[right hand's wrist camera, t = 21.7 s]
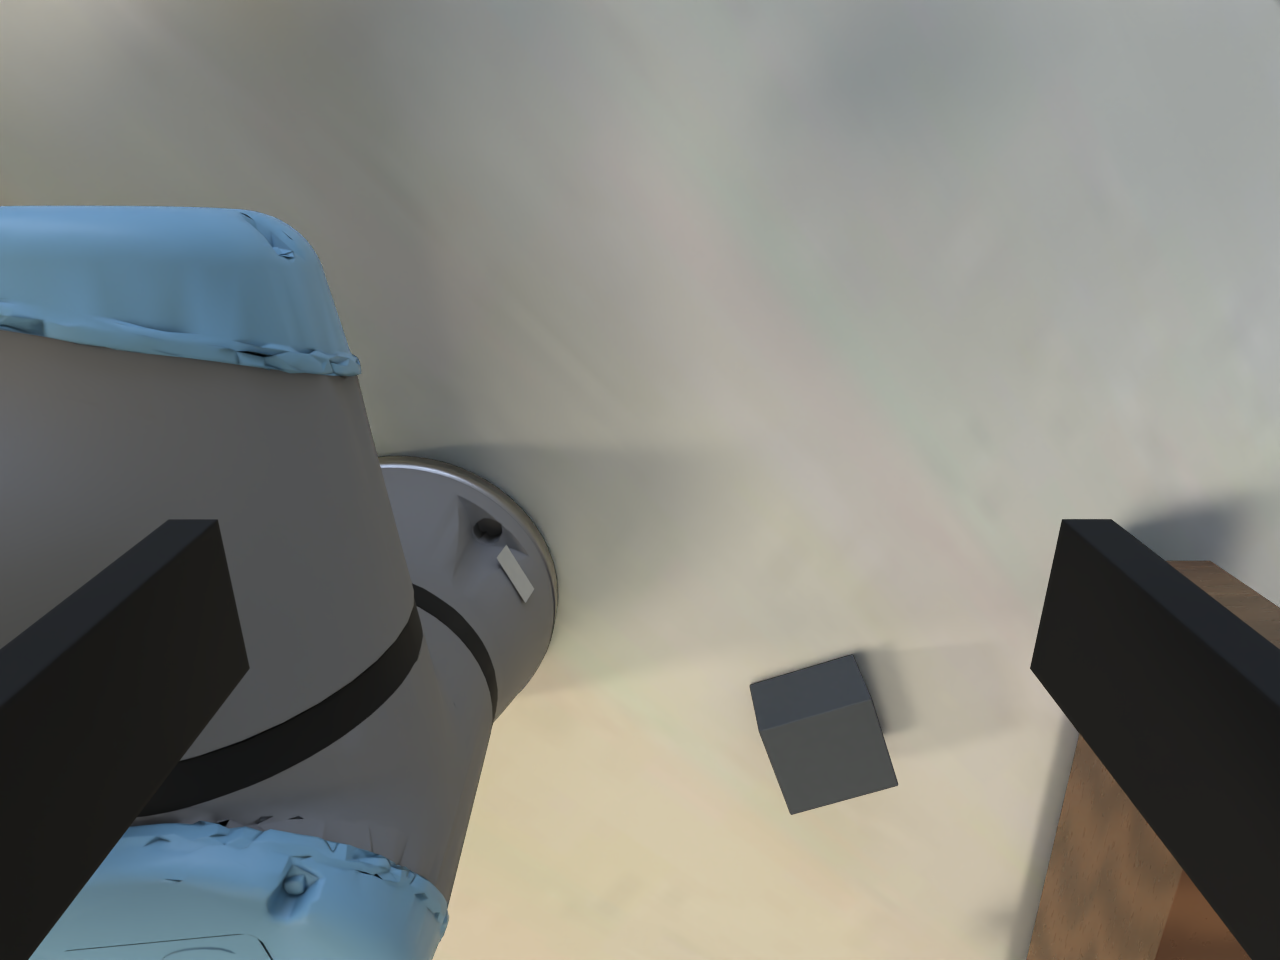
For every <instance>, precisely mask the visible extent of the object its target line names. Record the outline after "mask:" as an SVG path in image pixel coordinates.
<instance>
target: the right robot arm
mask: <svg viewBox="0 0 1280 960" xmlns="http://www.w3.org/2000/svg"><path fill="white" fill-rule="evenodd" d="M359 374H362V373H361V365H360V362H359V359H358V358H357V357H356V356H355V355H353V354H352V353H351V352H350V349H349V346H348V343H347V340H346V337H345V334H344V331H343V328H342V325H341V322H340V319H339V316H338V313H337V310H336V307H335V304H334V301H333V298H332V295H331V292H330V289H329V286H328V283H327V280H326V277H325V274H324V270H323V267H322V264H321V262H320V260H319V258H318V256H317V254H316V253H315V251H314V249H313V248H312V246H311V245H310V244H309V243H308V241H307V240H306V239H305V238H304V237H303V236H302V235H301V234H300V233H299V232H298V231H296V230H295V229H293V228H292V227H291V226H289V225H288V224H286V223H284V222H283V221H281V220H279V219H277V218H275V217H272V216H269V215H266V214H263V213H259V212H256V211H250V210H242V209H226V208H207V207H169V206H0V960H432V959H433V956H434V953H435V951H436V948H437V946H438V943H439V942H440V941H441V938H442V937H443V936H444V933H445V930H446V927H447V924H448V921H449V915H448V911H447V908H448V904H449V900H450V896H451V892H452V888H453V884H454V880H455V876H456V872H457V868H458V864H459V860H460V856H461V852H462V847H463V843H464V839H465V835H466V831H467V827H468V823H469V819H470V815H471V811H472V807H473V803H474V799H475V795H476V791H477V787H478V783H479V779H480V775H481V771H482V767H483V762H484V758H485V754H486V750H487V746H488V742H489V738H490V734H491V729H492V725H493V722H494V721H495V720H496V719H497V718H498V717H499V716H500V714H501V713H502V712H503V711H504V710H505V709H506V707H507V706H508V705H509V704H510V703H511V702H512V700H513V699H514V698H515V697H516V695H517V694H518V693H519V692H520V691H521V690H522V689H523V688H524V687H525V686H526V685H527V683H528V682H529V681H530V680H531V678H532V677H533V675H534V674H535V672H536V670H537V669H538V667H539V665H540V663H541V662H542V660H543V658H544V656H545V654H546V652H547V649H548V646H549V644H550V641H551V637H552V633H553V629H554V623H555V618H556V611H557V603H558V588H557V578H556V573H555V568H554V564H553V561H552V558H551V555H550V552H549V550H548V548H547V546H546V543H545V541H544V539H543V538H542V536H541V534H540V533H539V531H538V529H537V528H536V526H535V525H534V523H533V522H532V521H531V519H530V518H529V517H528V516H527V514H526V513H525V512H524V511H523V510H522V509H521V508H520V507H519V506H518V505H517V504H516V503H515V502H514V501H513V500H512V499H511V498H510V497H509V496H507V495H506V494H505V493H504V492H502V491H501V490H500V489H499V488H497V487H496V486H494V485H493V484H491V483H490V482H488V481H486V480H485V479H483V478H481V477H479V476H477V475H475V474H474V473H471V472H469V471H467V470H464V469H462V468H460V467H457V466H454V465H451V464H448V463H445V462H441V461H436V460H432V459H427V458H420V457H409V456H388V457H378V455H377V452H376V448H375V444H374V441H373V437H372V433H371V429H370V425H369V421H368V417H367V413H366V409H365V405H364V401H363V397H362V393H361V389H360V384H359V380H358V376H357V375H359ZM1030 669H1031V670H1032V672H1033V673H1034V674H1035V676H1036V677H1037V678H1038V679H1039V681H1040V682H1041V683H1042V685H1043V686H1044V687H1045V689H1046V690H1047V691H1048V693H1049V694H1050V695H1051V697H1052V698H1053V699H1054V700H1055V702H1056V703H1057V704H1058V706H1059V707H1060V708H1061V710H1062V711H1063V712H1064V714H1065V715H1066V716H1067V718H1068V719H1069V720H1070V722H1071V723H1072V724H1073V725H1074V727H1075V728H1076V729H1077V731H1078V732H1079V733H1080V735H1081V736H1082V737H1083V739H1084V740H1085V741H1086V743H1087V744H1088V745H1089V747H1090V748H1091V749H1092V750H1093V752H1094V753H1095V754H1096V756H1097V757H1098V758H1099V760H1100V761H1101V762H1102V764H1103V765H1104V766H1105V768H1106V769H1107V770H1108V771H1109V773H1110V774H1111V775H1112V777H1113V778H1114V779H1115V781H1116V782H1117V783H1118V785H1119V786H1120V787H1121V789H1122V790H1123V791H1124V793H1125V794H1126V795H1127V796H1128V798H1129V799H1130V800H1131V802H1132V803H1133V804H1134V806H1135V807H1136V808H1137V810H1138V811H1139V812H1140V814H1141V815H1142V816H1143V818H1144V819H1145V820H1146V821H1147V823H1148V824H1149V825H1150V827H1151V828H1152V829H1153V831H1154V832H1155V833H1156V835H1157V836H1158V837H1159V839H1160V840H1161V841H1162V842H1163V844H1164V845H1165V846H1166V848H1167V849H1168V850H1169V852H1170V853H1171V854H1172V856H1173V857H1174V858H1175V860H1176V861H1177V862H1178V864H1179V865H1180V866H1181V867H1182V869H1183V870H1184V871H1185V873H1186V874H1187V875H1188V877H1189V878H1190V879H1191V881H1192V882H1193V883H1194V885H1195V886H1196V887H1197V889H1198V890H1199V891H1200V892H1201V894H1202V895H1203V896H1204V898H1205V899H1206V900H1207V902H1208V903H1209V904H1210V906H1211V907H1212V908H1213V910H1214V911H1215V912H1216V913H1217V915H1218V916H1219V917H1220V919H1221V920H1222V921H1223V923H1224V924H1225V925H1226V927H1227V928H1228V929H1229V931H1230V932H1231V933H1232V935H1233V936H1234V937H1235V938H1236V940H1237V941H1238V942H1239V944H1240V945H1241V946H1242V948H1243V949H1244V950H1245V952H1246V953H1247V954H1248V956H1249V957H1250V958H1251V960H1280V649H1279V648H1277V647H1276V646H1275V645H1273V644H1272V643H1271V642H1270V641H1268V640H1267V639H1266V638H1264V637H1263V636H1262V635H1261V634H1259V633H1258V632H1257V631H1255V630H1254V629H1253V628H1251V627H1250V626H1249V625H1248V624H1246V623H1245V622H1244V621H1242V620H1241V619H1240V618H1239V617H1237V616H1236V615H1235V614H1233V613H1232V612H1231V611H1229V610H1228V609H1227V608H1226V607H1224V606H1223V605H1222V604H1220V603H1219V602H1218V601H1216V600H1215V599H1214V598H1213V597H1211V596H1210V595H1209V594H1207V593H1206V592H1205V591H1204V590H1202V589H1201V588H1200V587H1198V586H1197V585H1196V584H1194V583H1193V582H1192V581H1191V580H1189V579H1188V578H1187V577H1185V576H1184V575H1183V574H1182V573H1180V572H1179V571H1178V570H1176V569H1175V568H1174V567H1172V566H1171V565H1170V564H1169V563H1167V562H1166V561H1165V560H1163V559H1162V558H1161V557H1159V556H1158V555H1157V554H1156V553H1154V552H1153V551H1152V550H1150V549H1149V548H1148V547H1147V546H1145V545H1144V544H1143V543H1141V542H1140V541H1139V540H1137V539H1136V538H1135V537H1134V536H1132V535H1131V534H1130V533H1128V532H1127V531H1126V530H1125V529H1123V528H1122V527H1121V526H1119V525H1118V524H1117V523H1115V522H1114V521H1113V520H1112V519H1062V522H1061V527H1060V532H1059V536H1058V541H1057V546H1056V550H1055V555H1054V560H1053V564H1052V569H1051V574H1050V578H1049V583H1048V588H1047V592H1046V597H1045V602H1044V606H1043V611H1042V616H1041V620H1040V625H1039V629H1038V634H1037V639H1036V643H1035V648H1034V653H1033V657H1032V662H1031V667H1030Z"/></svg>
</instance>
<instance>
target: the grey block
mask: <svg viewBox="0 0 1280 960" xmlns="http://www.w3.org/2000/svg"><path fill="white" fill-rule="evenodd" d="M750 691H751V695H752V700H753V705H754V710H755V715H756V720H757V724H758V729H759V733H760V736H761V738H762V741H763V744H764V746H765V749H766V751H767V754H768V757H769V759H770V762H771V765H772V767H773V770H774V772H775V775H776V778H777V780H778V783H779V786H780V788H781V791H782V793H783V796H784V799H785V801H786V804H787V807H788V809H789V812H790V814H791V815H793V814H796V813H800V812H804V811H807V810H811V809H815V808H818V807H822V806H825V805H829V804H833V803H836V802H840V801H844V800H847V799H851V798H855V797H858V796H862V795H866V794H869V793H873V792H877V791H880V790H884V789H887V788H891V787H895V786H898V782H897V779H896V775H895V772H894V769H893V766H892V762H891V759H890V756H889V753H888V750H887V746H886V743H885V740H884V737H883V733H882V730H881V727H880V724H879V721H878V717H877V714H876V711H875V708H874V705H873V701H872V698H871V696H870V694H869V691H868V689H867V687H866V684H865V682H864V680H863V677H862V675H861V673H860V670H859V668H858V666H857V663H856V661H855V658H854V656H853V655H849V656H846V657H842V658H839V659H836V660H832V661H829V662H825V663H822V664H819V665H815V666H812V667H809V668H805V669H802V670H799V671H795V672H792V673H789V674H785V675H782V676H778V677H775V678H772V679H768V680H765V681H762V682H758V683H755V684H752V685H750Z"/></svg>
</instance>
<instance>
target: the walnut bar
mask: <svg viewBox="0 0 1280 960" xmlns="http://www.w3.org/2000/svg"><path fill="white" fill-rule="evenodd" d="M1166 562H1167V563H1169V564H1170V565H1171V566H1172V567H1174V568H1175V569H1176V570H1178V571H1179V572H1180V573H1182V574H1183V575H1184V576H1185V577H1187V578H1188V579H1189V580H1191V581H1192V582H1193V583H1194V584H1196V585H1197V586H1198V587H1200V588H1201V589H1202V590H1204V591H1205V592H1206V593H1207V594H1209V595H1210V596H1211V597H1213V598H1214V599H1215V600H1216V601H1218V602H1219V603H1220V604H1222V605H1223V606H1224V607H1226V608H1227V609H1228V610H1229V611H1231V612H1232V613H1233V614H1235V615H1236V616H1237V617H1239V618H1240V619H1241V620H1242V621H1244V622H1245V623H1246V624H1248V625H1249V626H1250V627H1251V628H1253V629H1254V630H1255V631H1257V632H1258V633H1259V634H1261V635H1262V636H1263V637H1264V638H1266V639H1267V640H1268V641H1270V642H1271V643H1272V644H1273V645H1275V646H1276V647H1277V648H1279V649H1280V608H1279V607H1278V606H1276V605H1275V604H1273V603H1272V602H1270V601H1269V600H1267V599H1266V598H1264V597H1263V596H1262V595H1260V594H1259V593H1257V592H1256V591H1254V590H1253V589H1251V588H1250V587H1248V586H1247V585H1245V584H1244V583H1242V582H1241V581H1239V580H1238V579H1236V578H1235V577H1233V576H1232V575H1231V574H1229V573H1228V572H1226V571H1225V570H1223V569H1222V568H1220V567H1219V566H1217V565H1216V564H1214V563H1213V562H1211V561H1166ZM1027 960H1251V958H1250V957H1249V956H1248V954H1247V953H1246V952H1245V950H1244V949H1243V948H1242V946H1241V945H1240V944H1239V942H1238V941H1237V940H1236V938H1235V937H1234V936H1233V935H1232V933H1231V932H1230V931H1229V929H1228V928H1227V927H1226V925H1225V924H1224V923H1223V921H1222V920H1221V919H1220V917H1219V916H1218V915H1217V913H1216V912H1215V911H1214V910H1213V908H1212V907H1211V906H1210V904H1209V903H1208V902H1207V900H1206V899H1205V898H1204V896H1203V895H1202V894H1201V892H1200V891H1199V890H1198V889H1197V887H1196V886H1195V885H1194V883H1193V882H1192V881H1191V879H1190V878H1189V877H1188V875H1187V874H1186V873H1185V871H1184V870H1183V869H1182V867H1181V866H1180V865H1179V864H1178V862H1177V861H1176V860H1175V858H1174V857H1173V856H1172V854H1171V853H1170V852H1169V850H1168V849H1167V848H1166V846H1165V845H1164V844H1163V842H1162V841H1161V840H1160V839H1159V837H1158V836H1157V835H1156V833H1155V832H1154V831H1153V829H1152V828H1151V827H1150V825H1149V824H1148V823H1147V821H1146V820H1145V819H1144V818H1143V816H1142V815H1141V814H1140V812H1139V811H1138V810H1137V808H1136V807H1135V806H1134V804H1133V803H1132V802H1131V800H1130V799H1129V798H1128V796H1127V795H1126V794H1125V793H1124V791H1123V790H1122V789H1121V787H1120V786H1119V785H1118V783H1117V782H1116V781H1115V779H1114V778H1113V777H1112V775H1111V774H1110V773H1109V771H1108V770H1107V769H1106V768H1105V766H1104V765H1103V764H1102V762H1101V761H1100V760H1099V758H1098V757H1097V756H1096V754H1095V753H1094V752H1093V750H1092V749H1091V748H1090V747H1089V745H1088V744H1087V743H1086V741H1085V740H1084V739H1083V737H1082V736H1081V735H1080V734H1079V738H1078V742H1077V747H1076V751H1075V755H1074V759H1073V764H1072V768H1071V772H1070V776H1069V781H1068V785H1067V789H1066V794H1065V798H1064V802H1063V806H1062V811H1061V815H1060V819H1059V823H1058V828H1057V832H1056V836H1055V840H1054V845H1053V849H1052V853H1051V857H1050V862H1049V866H1048V870H1047V874H1046V879H1045V883H1044V887H1043V891H1042V896H1041V900H1040V904H1039V909H1038V913H1037V917H1036V921H1035V926H1034V930H1033V934H1032V938H1031V943H1030V947H1029V951H1028V955H1027Z"/></svg>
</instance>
